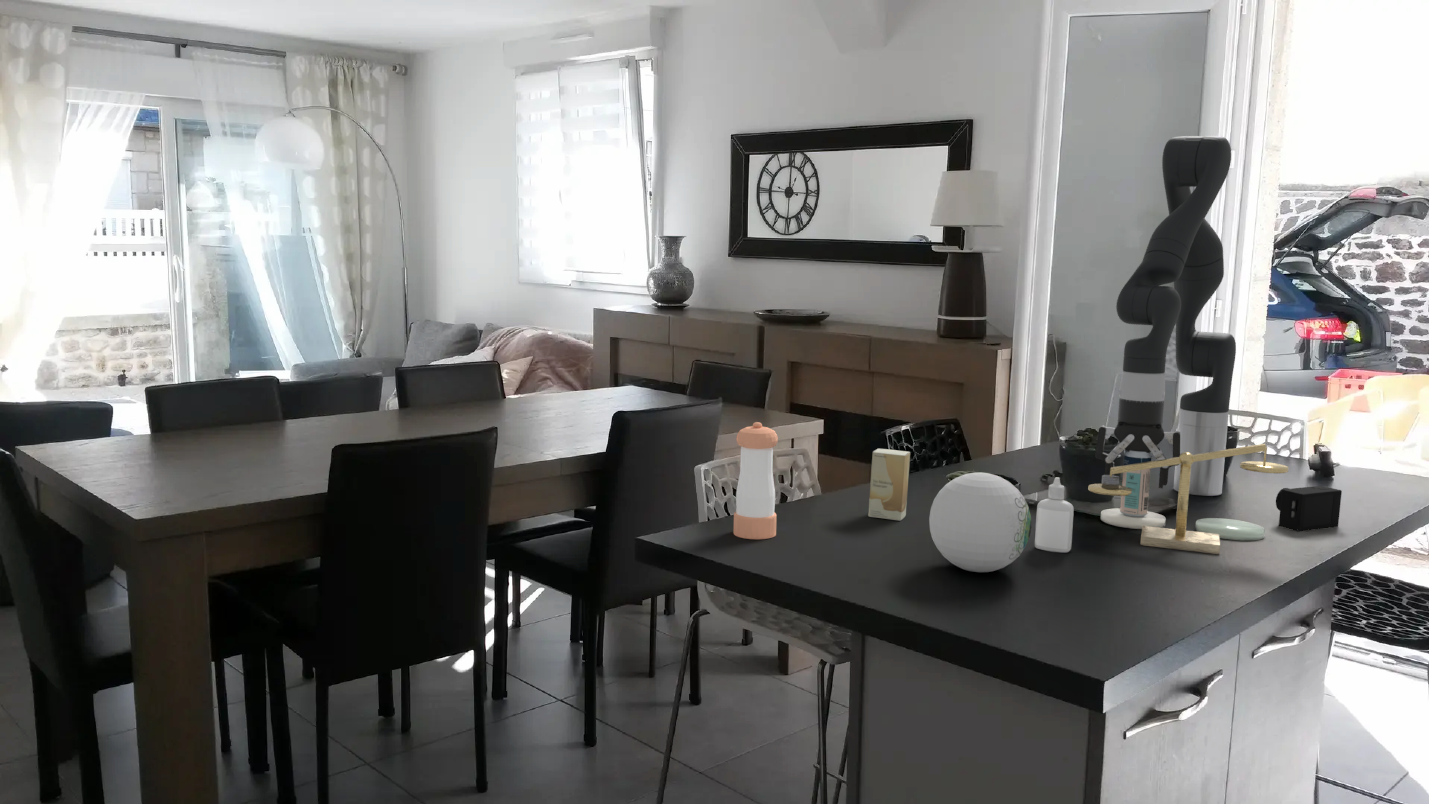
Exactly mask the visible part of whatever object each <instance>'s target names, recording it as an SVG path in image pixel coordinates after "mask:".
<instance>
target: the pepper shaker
mask: <svg viewBox="0 0 1429 804" xmlns="http://www.w3.org/2000/svg"><path fill="white" fill-rule="evenodd" d="M735 440H736V443H737V445H738V446H739V447H740V467H739V468H740V469H739V476H738V480H737V481H738V483H737V488H736V492H735V499H736V500H735V501H736V502H735V503H736V505H735V508H736V510H735V511H734V512H733V535H734V536H735V537H737V538H741V539H748V540H766V539H771V538H774V537H777V516H778V515H777V513H776V512H775V508H776V507H775V506H776V505H775V504H776V490H775V482H774V481H775V480H774V474H773V462H774V461H773V458H774V457H773V456H774V447H776V446H777V444H778V441H779V437H778V434H777V433H776V431H775V430H774V429H772V428H770V427H766V426H763V424H762V422H760V421H759V422H758V421H755V422H753V424H752V425H751V426H746V427H743V428H741V429H740V430H739V431H738V432H737V435H736V439H735Z"/></svg>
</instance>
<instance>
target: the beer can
mask: <svg viewBox="0 0 1429 804" xmlns="http://www.w3.org/2000/svg"><path fill="white" fill-rule="evenodd" d="M1152 457H1153V455H1152V452H1150V453H1146V452H1138V451H1131V450H1130V451H1129V452H1128V451H1126V450H1125V452H1124V453H1123V465H1130V464H1136V463H1143V462H1149V461H1152ZM1151 469H1152V468H1150V469H1143V470H1137V471H1130V472H1124V473H1122V482H1121V486H1125V487H1128V488H1131V489H1132V494H1130V495H1126V496H1120V512H1121V513H1122V514H1124V515H1126V516H1131V517H1144V516H1145V515H1147V514H1148V513H1147V511H1148V507H1149V495H1150V482H1151Z"/></svg>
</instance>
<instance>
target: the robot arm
mask: <svg viewBox="0 0 1429 804" xmlns="http://www.w3.org/2000/svg"><path fill="white" fill-rule="evenodd" d="M1231 147H1232V146H1231V144H1230V142H1229V140H1228V138H1226V137H1225V136H1224V137H1223V136H1219V135H1190V136H1189V135H1185V136H1183V135H1182V136H1173V137H1171V138H1169V139H1168V140H1167V142H1166V143H1165V145H1164V148H1163V152H1162V160H1161V162H1162V167H1161V168H1162V177H1163V184H1164V190H1165V197H1166V204H1167V208H1168V216H1166V217H1165V218H1164V219H1163V220H1162V221H1161V222H1160V223H1159V224H1158V225H1157V227H1156V228H1155V229H1154V231H1153V232H1152V234H1151V237H1150V239H1149V241H1148V244H1147V247H1146V249H1145V252H1144V256H1143V258H1142V261H1141V263H1140V264H1139V265H1138V267H1137V268H1136V269H1135V271H1134V272H1133V274H1131V276H1130V278H1128V280H1127V282H1126V283H1125V284H1124V286H1123V287H1122V288H1121V290H1120V291H1119V294H1118V297H1117V300H1116V306H1115V308H1116V313H1117V316H1118V317H1119V319H1120V321H1121V322H1123V323H1125V324H1129V325H1136V326H1137V325H1140V326H1142V325H1143V326H1152V328H1151V331H1150V332H1149V333H1148V334H1147V335H1146V336H1143V337H1135V338H1131V339H1128V340H1127V341H1126V342H1125V344H1124V347H1123V348H1124V349H1123V361H1122V362H1123V363H1122V373H1121V374H1122V375H1121V378H1120V379H1121V380H1120V384H1119V385H1120V386H1119V390H1118V391H1119V392H1118V395H1119V399H1118V400H1119V401H1118V413H1117V425H1116V426H1115V427H1111V426H1106V425H1104V424H1103V425H1100V426H1099V428H1098V431H1097V440H1096V448H1095V455H1094V456H1095V457H1094V458H1095V459H1098V460H1100V461H1103V462H1104V464H1105V465H1104V466H1105V468H1104V475H1110V471H1111V469H1110V468H1111V467H1115V462H1114V461H1115V459H1116V458H1117V457H1118V456H1119V455H1120V454H1121V453H1122V452H1123V451H1124V450H1125V452H1126V451H1128V452H1129V451H1130V450H1131V451H1138V452H1146V453H1151V455H1152V456H1153V457H1154V458H1155V460H1162V459H1168V458H1167V457H1166V456H1165V454H1164V453H1163V451H1162V449H1161V448H1160V447H1159V444H1160V443H1161V442H1162V441H1163V440H1164V439H1166V440H1167V443H1168V444H1170V445H1172V458H1175V457H1179V456H1180V454H1182V453H1184V452H1189V453H1191V454H1192V455H1195V454H1201V453H1208V452H1214V451H1221V450H1227V447H1226V446H1227V438H1228V437H1227V436H1228V424H1229V422H1228V421H1229V414H1230V413H1229V411H1230V401H1231V392H1232V384H1233V383H1232V382H1233V376H1234V375H1233V374H1234V369H1235V362H1236V355H1237V354H1236V353H1237V345H1236V344H1237V343H1236V339H1235V337H1234V336H1233V335H1232V334H1231V333H1228V332H1227V333H1226V332H1214V331H1213V332H1212V331H1197V330H1196V321H1197V319H1198V317H1199V315H1200V314H1201V311H1202V310H1203V308H1204V307H1205V305H1206V304H1207V303H1208V302H1209V300H1210V299H1211V298H1212V296H1214V294H1215V292H1216V291H1217V290H1218V288H1219V287H1220V286H1221V283H1222V281H1223V278H1224V276H1225V266H1224V265H1225V264H1224V263H1225V262H1224V246H1223V243H1222V241H1221V239H1220V236H1218V234H1217V232H1216V231H1215V230H1214V228H1213V227H1212V226H1211V225H1210V223H1209V222H1208V220H1206V216H1207V214H1208V213H1209V212H1210V209H1211V208H1212V206H1213V204H1214V202H1215V200H1216V198H1217V197H1218V195H1219V193H1220V192H1221V189H1222V187H1223V185H1224V183H1225V181H1226V178H1227V176H1228V174H1229V170H1230V166H1231V161H1232V148H1231ZM1192 187H1194V189H1193V191H1191V188H1192ZM1171 283H1173V287H1171V286H1168V284H1171ZM1174 328H1175V362H1176V367H1177V370H1178V372H1179V373H1180V374H1181V375H1185V376H1189V377H1190V376H1191V377H1203V378H1212V381H1211V384H1210V385H1209V386H1206V387H1204V388H1201V389H1200V390H1197V391H1196V390H1195V391H1191V392H1187V393H1184V394H1183V395H1181V397H1180V401H1179V412H1178V413H1179V415H1178V427H1177V430H1174V431H1165V430H1164V428H1163V421H1164V420H1163V419H1164V408H1165V407H1164V406H1165V396H1166V374H1165V373H1166V372H1165V371H1166V364H1167V363H1166V360H1167V351H1168V347H1169V345H1170V341H1171V338H1172V334H1173V332H1174ZM1113 434H1114V436H1115V438H1116V440H1117V441H1118V444H1116V446H1115V447H1114V448H1113V449H1112V450H1111V451H1110V452H1109V453H1107V452H1104V450H1105V443H1106V440H1108V439H1109V438H1110V437H1111V435H1113ZM1225 458H1226V457H1222V458H1216V459H1209V460H1203V461H1196V462H1193V464H1192V465H1191V473H1190V485H1189V495H1195V496H1209V497H1210V496H1211V497H1213V496H1220V495H1222V494H1223V484H1224V483H1223V482H1224V473H1225V472H1224V470H1225V461H1226V460H1225ZM1173 467H1174V478H1173V490H1174V491H1176V492H1179V479H1180V467H1181V464H1176V465H1170V466H1163V467H1159V479H1158V489H1164V486H1167V484H1168V480H1169V479H1168V478H1169V469H1170V468H1173ZM1112 475H1114V474H1112Z"/></svg>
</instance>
